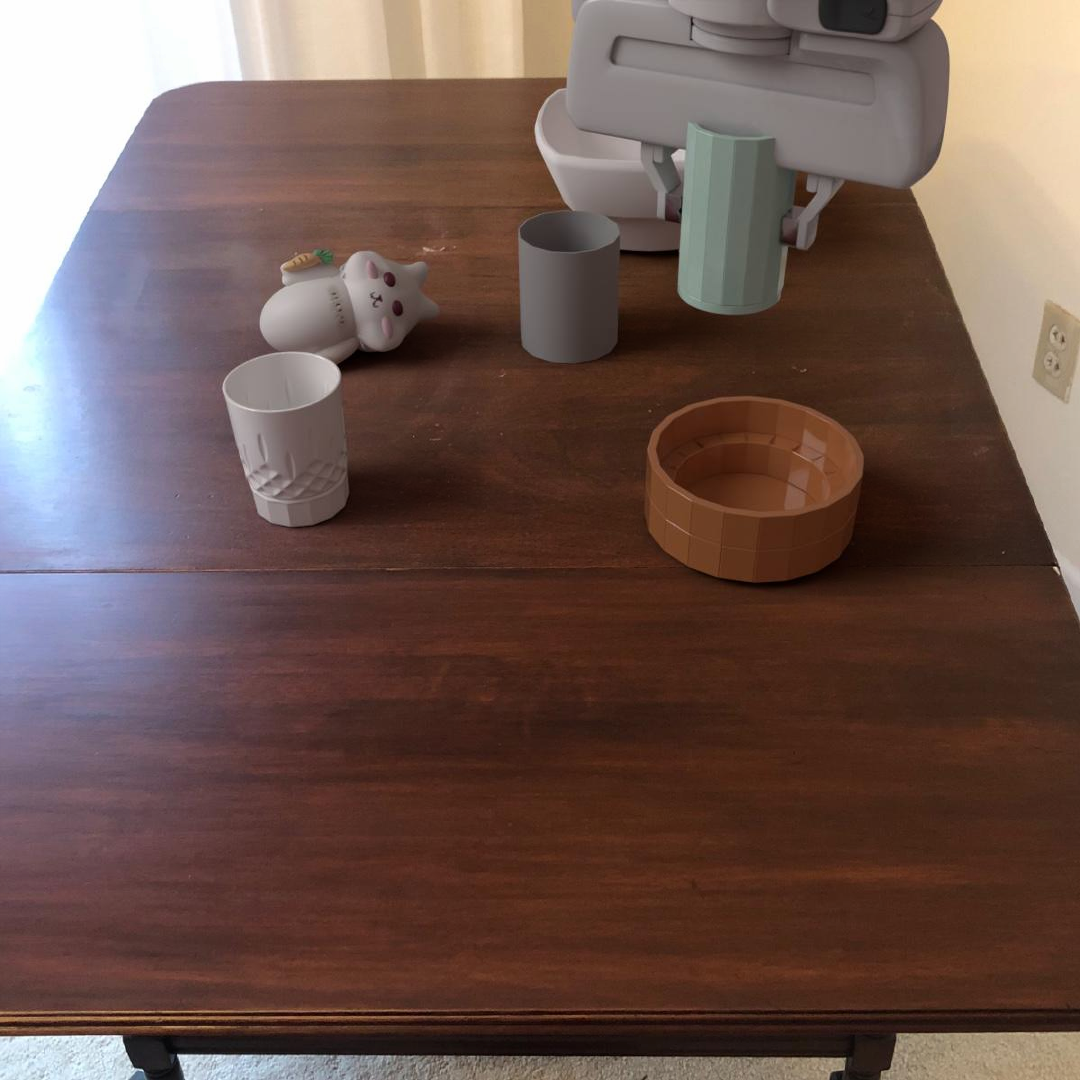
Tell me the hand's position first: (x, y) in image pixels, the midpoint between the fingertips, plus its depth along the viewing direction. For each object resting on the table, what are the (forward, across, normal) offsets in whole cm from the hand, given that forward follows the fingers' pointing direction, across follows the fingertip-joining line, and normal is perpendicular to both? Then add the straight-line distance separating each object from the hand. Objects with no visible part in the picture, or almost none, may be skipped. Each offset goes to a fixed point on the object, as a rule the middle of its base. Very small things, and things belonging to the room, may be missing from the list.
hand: (735, 231), depth 68 cm
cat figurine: (+23, -38, +11) cm, 46 cm away
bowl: (+24, -26, +44) cm, 56 cm away
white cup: (+23, -28, -8) cm, 37 cm away
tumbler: (+4, 0, 0) cm, 4 cm away
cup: (+23, -22, +22) cm, 39 cm away
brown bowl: (+23, +1, +4) cm, 24 cm away
